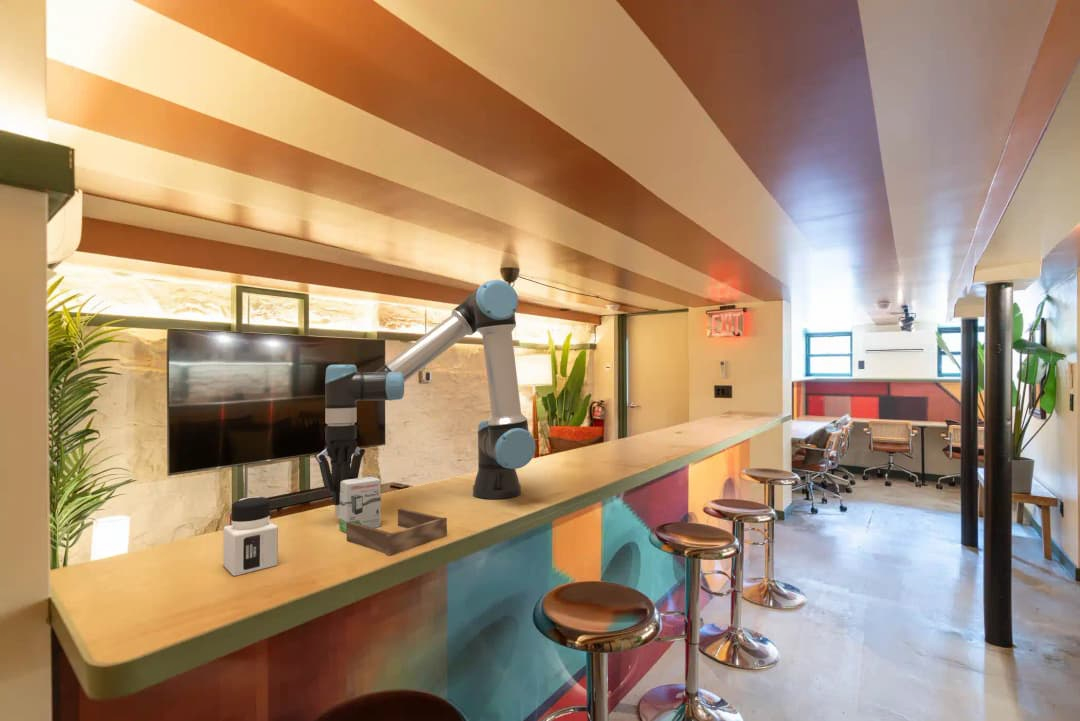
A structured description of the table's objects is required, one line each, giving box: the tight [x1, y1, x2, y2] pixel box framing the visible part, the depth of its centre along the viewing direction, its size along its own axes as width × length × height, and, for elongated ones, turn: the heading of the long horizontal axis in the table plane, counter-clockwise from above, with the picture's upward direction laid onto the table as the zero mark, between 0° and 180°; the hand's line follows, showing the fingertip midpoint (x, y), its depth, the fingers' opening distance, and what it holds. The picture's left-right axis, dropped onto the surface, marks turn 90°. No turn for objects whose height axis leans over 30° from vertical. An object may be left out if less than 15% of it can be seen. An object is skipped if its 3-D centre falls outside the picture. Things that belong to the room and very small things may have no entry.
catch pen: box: [346, 508, 448, 557], centre depth 112 cm, size 16×16×4 cm
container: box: [222, 496, 279, 577], centre depth 97 cm, size 8×8×13 cm
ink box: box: [339, 476, 382, 534], centre depth 121 cm, size 9×5×12 cm, turn 131°
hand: (340, 516), depth 126 cm, fingers closed
